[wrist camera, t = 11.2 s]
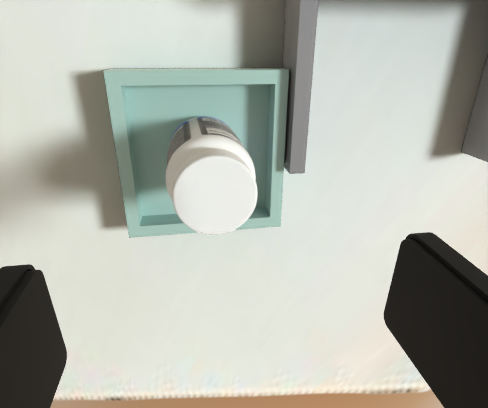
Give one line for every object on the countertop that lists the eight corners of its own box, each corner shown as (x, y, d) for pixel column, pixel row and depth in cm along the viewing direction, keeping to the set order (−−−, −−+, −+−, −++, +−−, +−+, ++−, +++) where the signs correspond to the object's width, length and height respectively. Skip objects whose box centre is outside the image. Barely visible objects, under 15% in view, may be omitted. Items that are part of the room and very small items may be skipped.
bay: (286, -27, 20) (324, -54, 15) (520, -18, 23) (625, -38, 17) (278, 160, 25) (304, 190, 20) (472, 151, 27) (543, 176, 22)
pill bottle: (186, 192, 24) (188, 257, 17) (156, 131, 22) (143, 173, 15) (248, 167, 24) (278, 220, 17) (224, 103, 22) (246, 131, 15)
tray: (110, 68, 21) (103, 70, 19) (279, 67, 22) (288, 69, 20) (133, 222, 25) (129, 237, 23) (273, 213, 27) (280, 226, 25)
